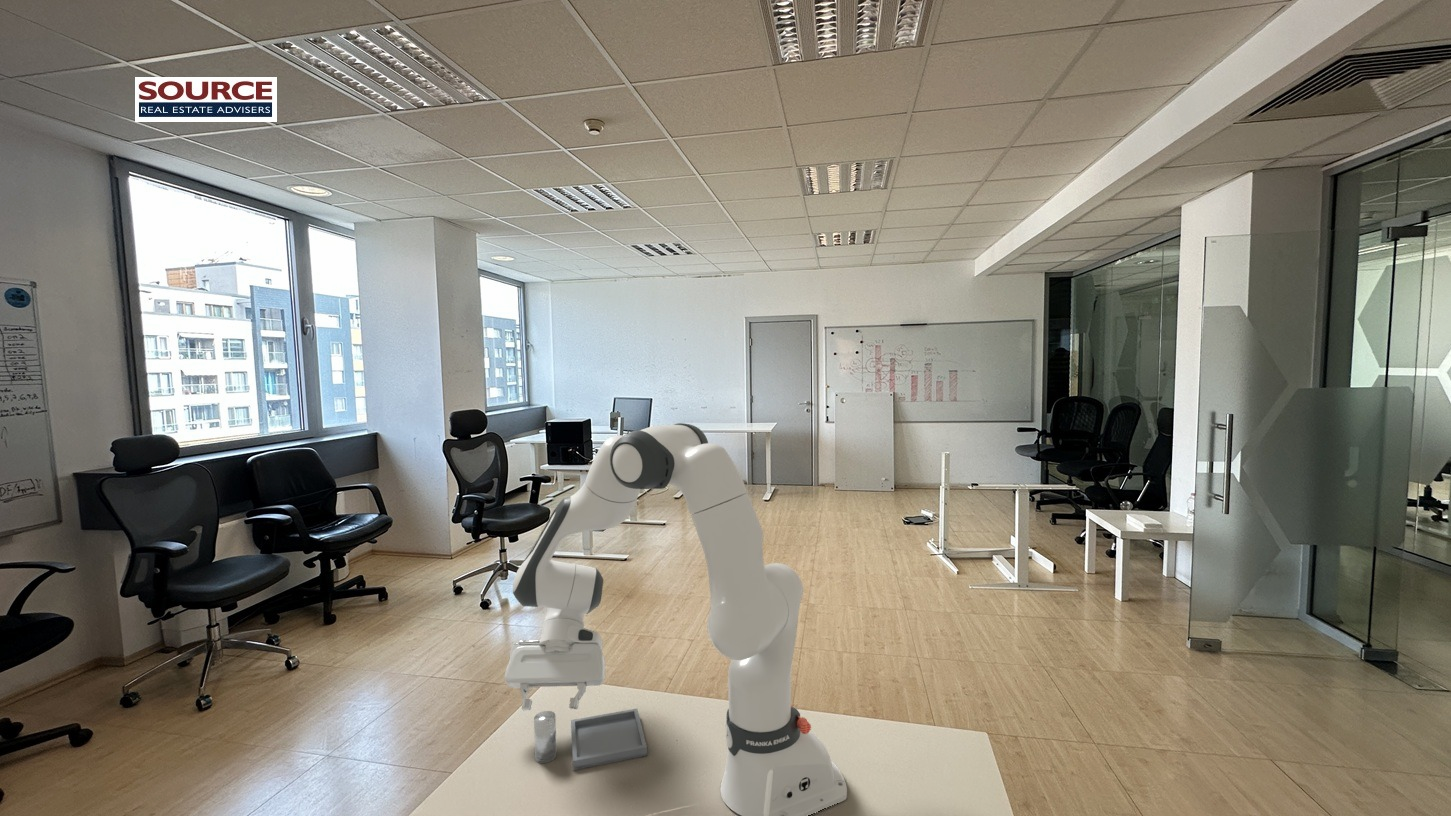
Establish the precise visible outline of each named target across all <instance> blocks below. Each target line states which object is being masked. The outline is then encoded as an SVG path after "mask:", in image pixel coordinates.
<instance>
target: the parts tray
mask: <svg viewBox="0 0 1451 816" xmlns="http://www.w3.org/2000/svg"><path fill="white" fill-rule="evenodd" d="M570 731H571V732H570V733H571V753H572V756H571V757H572V771H577V770H582V769H588V768H592V767H596V766H602V765H607V764H612V763H616V762H617V763H618V762H623V761H627V760H633V759H638V758H642V757H646V756H648V746H647V742H646V738H645V735H644V734H645V733H644V730H643V725H642V722H641V717H640V714H639V709H638V708H633V709H627V710H621V711H616V712H610V713H605V714H598V715H593V716H587V717H582V718H576V719H575V718H574V719H571V720H570Z"/></svg>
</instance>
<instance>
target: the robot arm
mask: <svg viewBox="0 0 1451 816" xmlns="http://www.w3.org/2000/svg"><path fill="white" fill-rule="evenodd" d="M668 485H672V486H675V487H676V488H678V490H679V491H680V492H681V493H682V495H683V497H684V499H685V503H686V506H687V508H688V512H689V514H690V517H691V520H692V523H693V525H694V527H695V530H696V533H697V537H698V539H699V542H700V545H701V548H702V550H703V554H704V557H705V561H706V569H707V574H708V575H707V576H708V583H709V594H710V595H709V596H710V608H709V613H708V614H709V615H708V619H707V623H706V625H707V633H708V638H709V639H710V642H711V644H712V645H713V647H714V648H715V649H716V650H717V651H718V653H719V654H721V655H722V656H724V657H726V658H727V659H729V660H730V664H729V666H728V667H729V668H728V672H727V673H728V674H727V675H728V709H727V711H726V718H725V719H726V720H725V721H726V722H725V723H726V724H725V740H726V743H725V744H726V746H727V751H726V752H727V754H726V761H725V767H724V772H723V776H722V780H721V783H720V796H721V799H722V800H723V802H724V804H725V805H726V806H727V807H728V809H731V810H732V811H733V812H734V813H735V814H737V815H740V816H807V815H811V814H813V813H815V812H817V811H820V810H821V809H824V808H826V809H828V808H827V807H829V806H831V807H833V806H835V805H837V803H838V804H839V803H842V802H844V801H846V800H847V798H848V787H847V784H846V780H845V778H844V775H843V774H842V771H841V770H840V769H839V767H838V766H837V765H836V763H835V762H834V761H833V760H832V759H831V756H830V753H829V751H828V750H827V748H826V746H825V745H824V743H823V741H822V740H821V739H820V738H819V737H818V735H816V734H815V733H814V732H812V731H811V730H812V725H811V723H809V721H808V719H807V718H805V717H803V716H802V717H801V713H800V712H799V710H798V709H797V708H795V707H793V705H792V693H791V691H792V682H791V681H792V665H793V658H794V652H795V647H796V645H795V644H796V638H797V632H798V631H797V630H798V623H799V622H798V621H799V614H800V613H799V612H800V609H801V608H800V607H801V603H802V598H803V592H804V587H803V583H802V579H801V578H800V576H799V575H798V573H797V572H796V571H795V570H794V569H793V568H792V567H790V566H789V565H787V564H784V563H780V562H773V563H768V564H765V561H764V551H763V547H764V546H763V545H764V543H763V542H764V531H763V528H762V525H761V523H760V520H759V518H758V516H757V513H756V511H755V510H756V509H755V508H754V505H753V502H752V499H751V497H750V495H749V492H748V490H747V487H746V485H745V482H744V480H743V479H742V476H741V474H740V472H739V470H738V468H737V467H736V464H735V463H734V461H733V460H732V458H731V456H730V454H729V453H728V451H727V450H726V449H725V448H724V447H723V446H721V445H720V444H717V443H709V441H708V439H707V436H706V435H705V433H704V432H703V430H702V429H700V428H699V427H697V426H695V425H693V424H691V423H690V424H689V423H684V422H683V423H680V422H679V423H674V424H664V425H663V424H662V425H653V426H649V427H646V428H643V429H640V430H632V431H631V432H628V433H626V434H623V435H619V434H618V435H613V436H611V437H608V438H607V439H605V441H604V442H603V443H602V445H600V447H599V449H598V451H597V453H596V455H595V456H594V459H593V460H592V463H591V464H590V468H589V470H588V472H587V475H586V478H585V480H584V483H583V485H582V486H581V487H580V488H579V489H578V490H577V491H576V492H575V493H574V494H571V496H567V497H564V498H562V500H561V501H560V502H559V503H558V504H557V506H555V509H554V510H553V511H552V513H551V515H550V516H549V518H548V520H547V521H546V523H545V525H544V527H543V529H542V530H541V532H540V533H539V536H538V537H537V539H536V541H535V542H534V544H533V546H532V548H531V550H529V551H530V552H529V553H528V554H527V555H526V557H525V558H524V560H523V561H522V564H521V565H520V566H519V567H518V569H517V571H516V573H515V575H514V578H513V582H512V594H513V596H514V598H515V599H516V600H517V601H518V603H519V604H520V605H522V606H523V607H530V608H533V607H534V608H545V609H546V615H545V618H544V619H543V622H542V627H541V632H540V638H539V639H531V640H530V639H529V640H526V639H522V640H519V641H518V642H516V643H514V644H513V645H512V646H511V649H510V651H509V661H508V662H507V666H506V669H505V673H504V677H503V678H504V681H505V682H504V683H505V684H506V685H507V686H508V687H509V688H519V692H520V695H521V699H522V705H521V709H522V711H531V710H532V706H533V700H532V699H531V698H528V694H527V693H529V692H530V690H531V689H530V688H543V687H544V688H549V687H551V688H553V687H554V688H555V687H556V688H557V687H577V690H578V691H577V692H576V694H575V696H574V697H570V698H569V706H568V707H569V709H570V710H578V709H579V703H580V701H581V699H582V698H583V696H584V694H585V693H586V690H587V686H588V687H590V686H591V687H593V686H594V687H595V686H597V687H598V686H601V685H602V684H603V683H604V682H605V678H606V677H605V676H606V660H605V656H604V653H603V651H602V650H603V640H602V638H601V636H600V634H599V633H598V632H597V631H595V630H591V629H588V628H585V625H584V616H585V615H586V614H587V615H588V614H589V613H591V612H593V610H595V609H597V608H598V607H599V606H600V604H601V601H602V597H603V596H602V594H603V588H604V587H603V586H604V578H603V576H602V574H601V572H600V571H599V570H598V569H597V568H595V567H593V566H589V565H583V564H577V563H571V562H570V563H569V562H564V561H560V560H559V561H558V560H554V559H552V558H553V556H554V554H555V552H556V551H557V549H558V547H559V546H560V544H561V542H562V541H563V540H564V539H566V538H567V537H569V536H572V535H574V534H580V533H584V532H585V533H586V532H593V531H604V530H608V529H612V528H614V527H617V526H619V525H621V524H623V522H625V521H626V520H627V519H628V518H629V516H630V515H631V514H632V511H633V509H634V507H635V505H636V502H637V499H638V498H639V494H640V492H641V490H663V489H666V488H667V486H668ZM834 804H835V805H834ZM832 805H833V806H832ZM829 808H830V807H829ZM824 810H825V809H824ZM820 812H821V811H820ZM817 813H818V812H817ZM815 814H816V813H815ZM813 815H814V814H813ZM811 816H812V815H811Z"/></svg>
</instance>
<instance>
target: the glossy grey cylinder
mask: <svg viewBox="0 0 1451 816" xmlns="http://www.w3.org/2000/svg"><path fill="white" fill-rule="evenodd" d="M556 725H557V724H556V713H555V712H554V711H552V710H544V711H541V712H539V713H537V714H536V715H535V716H534V717H533V730H534V733H533V734H534V759H535V762H536V763H539V764H547V763H550V762H552V761H553V760H555V759H556V757H557V727H556Z"/></svg>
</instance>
